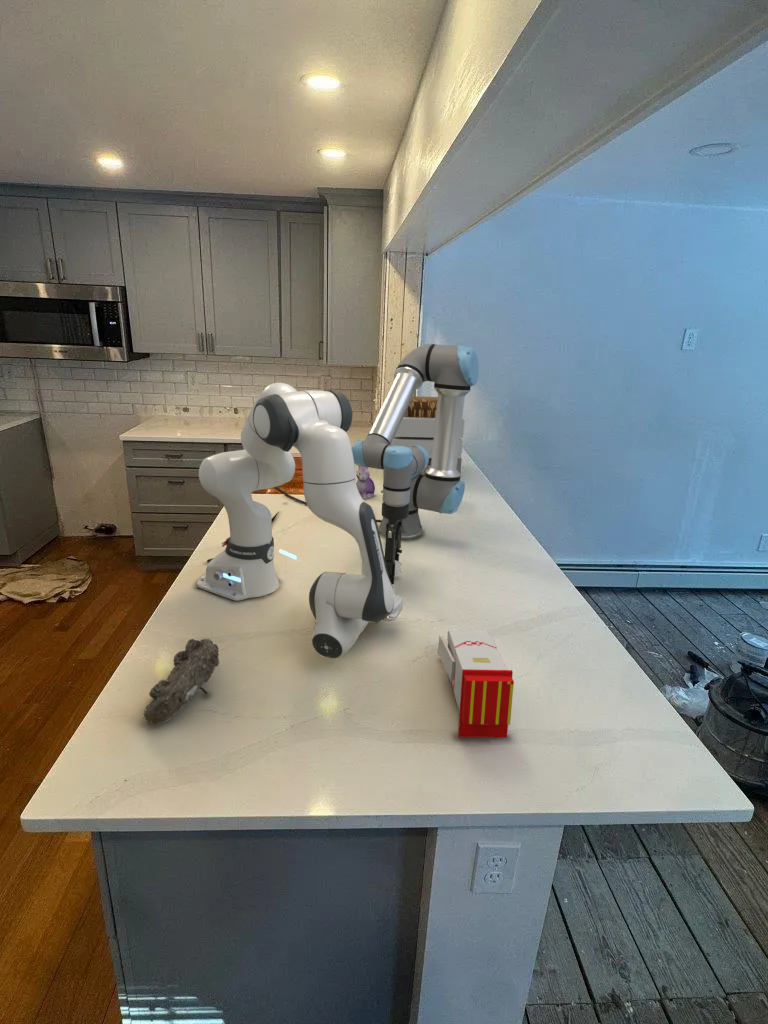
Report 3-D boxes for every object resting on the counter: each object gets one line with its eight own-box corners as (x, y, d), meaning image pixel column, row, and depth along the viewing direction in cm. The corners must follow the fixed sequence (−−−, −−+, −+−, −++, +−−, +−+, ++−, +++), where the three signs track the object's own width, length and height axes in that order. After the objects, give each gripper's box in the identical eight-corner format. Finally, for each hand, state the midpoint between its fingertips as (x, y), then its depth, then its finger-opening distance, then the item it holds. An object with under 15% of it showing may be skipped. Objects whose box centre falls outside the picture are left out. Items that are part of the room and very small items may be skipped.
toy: (488, 613, 130) (523, 677, 101) (484, 667, 133) (517, 744, 104) (435, 612, 130) (455, 676, 101) (432, 666, 133) (451, 743, 103)
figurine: (359, 500, 232) (360, 465, 227) (349, 493, 240) (350, 458, 235) (380, 498, 236) (381, 463, 231) (369, 490, 244) (370, 457, 239)
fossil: (172, 641, 124) (220, 609, 119) (203, 670, 127) (251, 640, 122) (121, 717, 104) (176, 683, 99) (159, 749, 107) (214, 718, 102)
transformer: (382, 463, 289) (386, 382, 275) (445, 464, 293) (451, 384, 279) (390, 482, 257) (394, 392, 243) (460, 483, 261) (468, 394, 247)
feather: (286, 506, 225) (288, 502, 225) (268, 529, 199) (271, 525, 198) (282, 503, 225) (284, 499, 225) (264, 526, 199) (267, 522, 198)
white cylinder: (405, 573, 163) (406, 565, 162) (389, 577, 159) (390, 569, 159) (393, 565, 167) (393, 558, 166) (377, 570, 164) (378, 562, 163)
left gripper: (395, 609, 131) (411, 583, 144) (314, 593, 137) (336, 570, 149) (393, 632, 133) (409, 605, 146) (314, 615, 139) (336, 591, 152)
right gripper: (388, 491, 166) (384, 564, 173) (375, 512, 148) (371, 591, 156) (414, 494, 164) (409, 567, 172) (403, 515, 147) (398, 595, 155)
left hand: (372, 587), depth 148 cm, fingers closed on jar, 5 cm apart
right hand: (391, 578), depth 164 cm, fingers closed on white cylinder, 6 cm apart
